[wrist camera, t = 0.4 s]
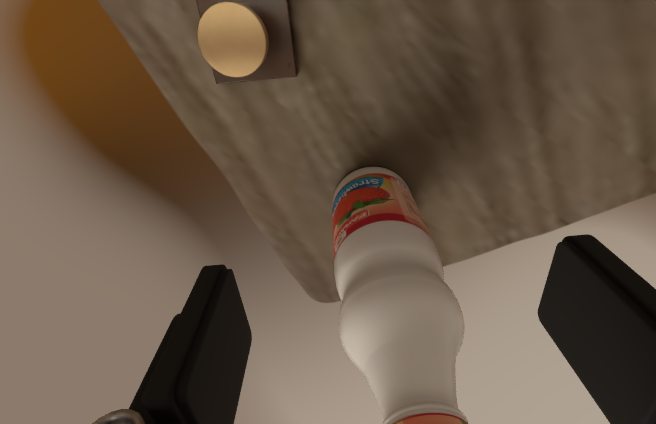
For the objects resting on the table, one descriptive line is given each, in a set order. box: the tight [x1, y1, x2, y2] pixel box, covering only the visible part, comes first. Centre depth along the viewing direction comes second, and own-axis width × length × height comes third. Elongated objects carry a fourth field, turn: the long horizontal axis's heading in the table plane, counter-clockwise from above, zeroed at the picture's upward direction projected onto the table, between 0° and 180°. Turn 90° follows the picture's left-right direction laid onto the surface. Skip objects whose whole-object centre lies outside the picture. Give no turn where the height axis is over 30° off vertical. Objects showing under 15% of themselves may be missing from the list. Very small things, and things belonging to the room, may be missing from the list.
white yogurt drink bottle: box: [332, 167, 468, 424], centre depth 30 cm, size 9×9×28 cm
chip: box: [198, 2, 269, 77], centre depth 27 cm, size 5×5×1 cm
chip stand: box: [196, 0, 297, 84], centre depth 30 cm, size 8×8×6 cm
